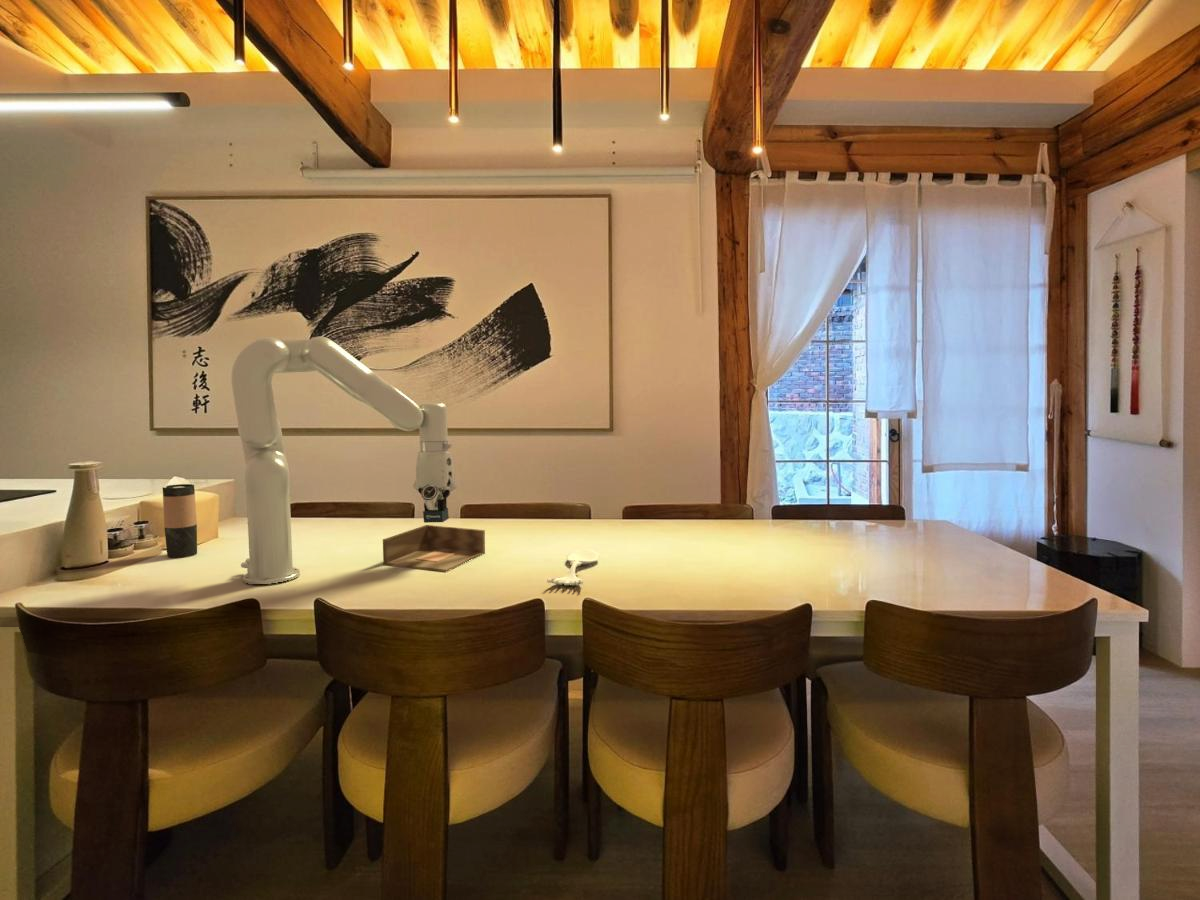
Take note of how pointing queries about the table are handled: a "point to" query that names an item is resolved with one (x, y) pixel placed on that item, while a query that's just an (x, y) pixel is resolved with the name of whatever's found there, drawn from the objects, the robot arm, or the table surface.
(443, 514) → the watch
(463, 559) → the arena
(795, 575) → the table surface
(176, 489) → the travel mug
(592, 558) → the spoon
